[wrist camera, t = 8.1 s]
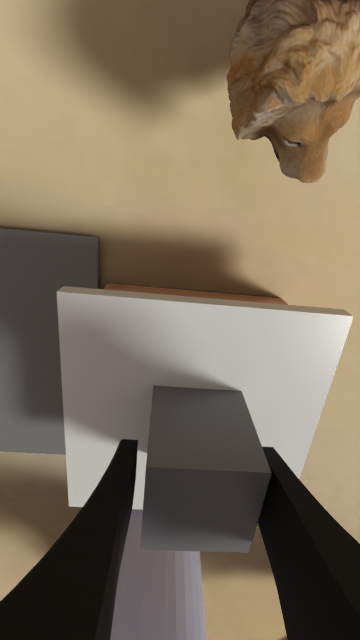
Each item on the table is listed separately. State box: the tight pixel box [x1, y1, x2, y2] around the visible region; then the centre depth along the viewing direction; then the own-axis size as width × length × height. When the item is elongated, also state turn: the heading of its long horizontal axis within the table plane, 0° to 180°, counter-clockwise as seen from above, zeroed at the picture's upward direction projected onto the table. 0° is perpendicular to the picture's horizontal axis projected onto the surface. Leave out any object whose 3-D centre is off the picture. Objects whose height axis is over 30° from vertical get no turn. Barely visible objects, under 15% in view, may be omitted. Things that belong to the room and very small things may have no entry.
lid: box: [57, 286, 354, 553], centre depth 13 cm, size 12×12×5 cm
